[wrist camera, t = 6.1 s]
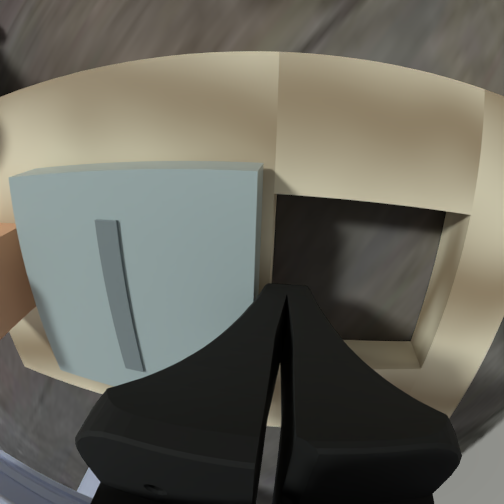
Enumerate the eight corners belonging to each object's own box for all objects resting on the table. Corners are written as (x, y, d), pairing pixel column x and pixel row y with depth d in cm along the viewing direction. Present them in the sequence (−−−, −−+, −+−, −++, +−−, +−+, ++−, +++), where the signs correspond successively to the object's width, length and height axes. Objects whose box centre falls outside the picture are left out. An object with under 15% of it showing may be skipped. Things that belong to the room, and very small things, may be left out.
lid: (254, 384, 13) (248, 414, 11) (76, 350, 14) (59, 371, 12) (263, 162, 9) (257, 171, 8) (35, 168, 10) (6, 178, 9)
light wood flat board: (437, 398, 15) (446, 423, 14) (40, 349, 18) (24, 366, 16) (520, 112, 9) (548, 115, 7) (-10, 108, 12) (-35, 112, 10)
